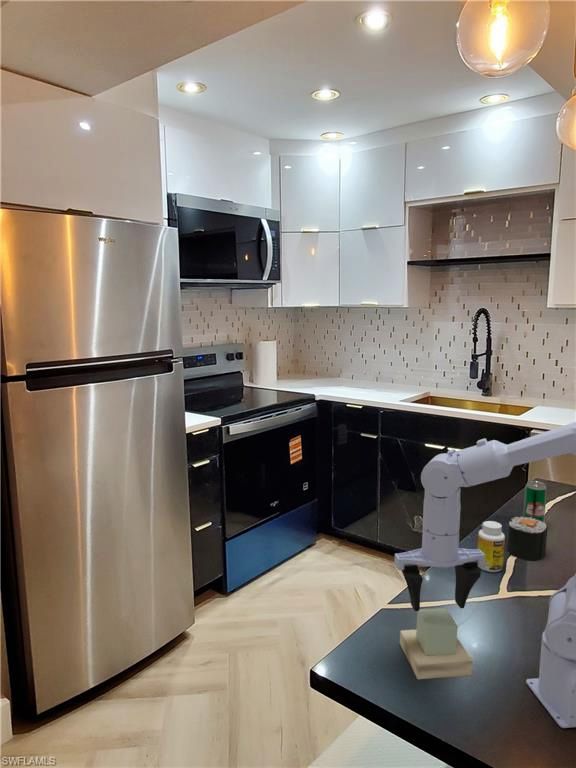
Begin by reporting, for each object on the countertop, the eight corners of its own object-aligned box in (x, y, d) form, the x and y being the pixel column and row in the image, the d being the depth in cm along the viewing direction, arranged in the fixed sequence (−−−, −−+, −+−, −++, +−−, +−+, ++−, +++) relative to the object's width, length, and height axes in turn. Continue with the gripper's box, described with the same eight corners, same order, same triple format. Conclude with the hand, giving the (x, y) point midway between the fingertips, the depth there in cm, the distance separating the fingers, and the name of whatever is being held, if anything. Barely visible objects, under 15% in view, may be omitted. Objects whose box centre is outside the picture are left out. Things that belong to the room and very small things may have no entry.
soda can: (524, 529, 141) (527, 485, 139) (521, 521, 146) (524, 479, 144) (545, 531, 140) (548, 487, 138) (542, 523, 145) (545, 481, 143)
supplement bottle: (492, 575, 117) (495, 531, 116) (471, 565, 122) (473, 522, 120) (508, 569, 120) (510, 525, 119) (486, 559, 125) (489, 517, 123)
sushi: (548, 551, 129) (551, 519, 127) (538, 564, 122) (541, 531, 121) (513, 541, 134) (516, 511, 133) (502, 553, 127) (504, 522, 126)
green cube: (455, 654, 87) (457, 626, 86) (425, 655, 87) (427, 627, 86) (444, 634, 92) (446, 608, 91) (416, 635, 92) (417, 609, 91)
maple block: (471, 677, 86) (472, 660, 86) (417, 682, 85) (418, 664, 85) (449, 642, 95) (449, 627, 95) (399, 646, 94) (400, 630, 94)
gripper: (472, 516, 91) (468, 590, 93) (389, 520, 90) (387, 595, 92) (492, 534, 84) (488, 614, 86) (403, 538, 83) (400, 619, 85)
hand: (437, 606), depth 89 cm, fingers open, 7 cm apart
